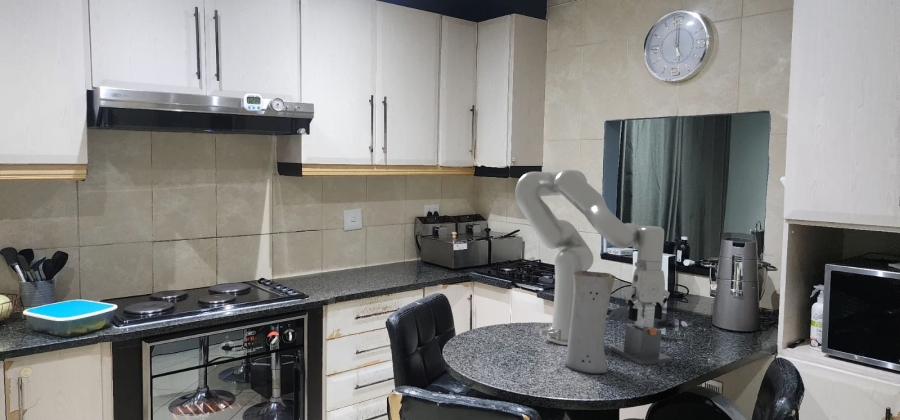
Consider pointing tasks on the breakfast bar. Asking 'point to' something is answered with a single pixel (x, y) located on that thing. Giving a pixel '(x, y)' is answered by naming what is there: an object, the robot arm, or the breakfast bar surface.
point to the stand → (642, 346)
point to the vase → (589, 322)
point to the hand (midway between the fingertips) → (645, 319)
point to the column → (645, 316)
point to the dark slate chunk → (623, 316)
